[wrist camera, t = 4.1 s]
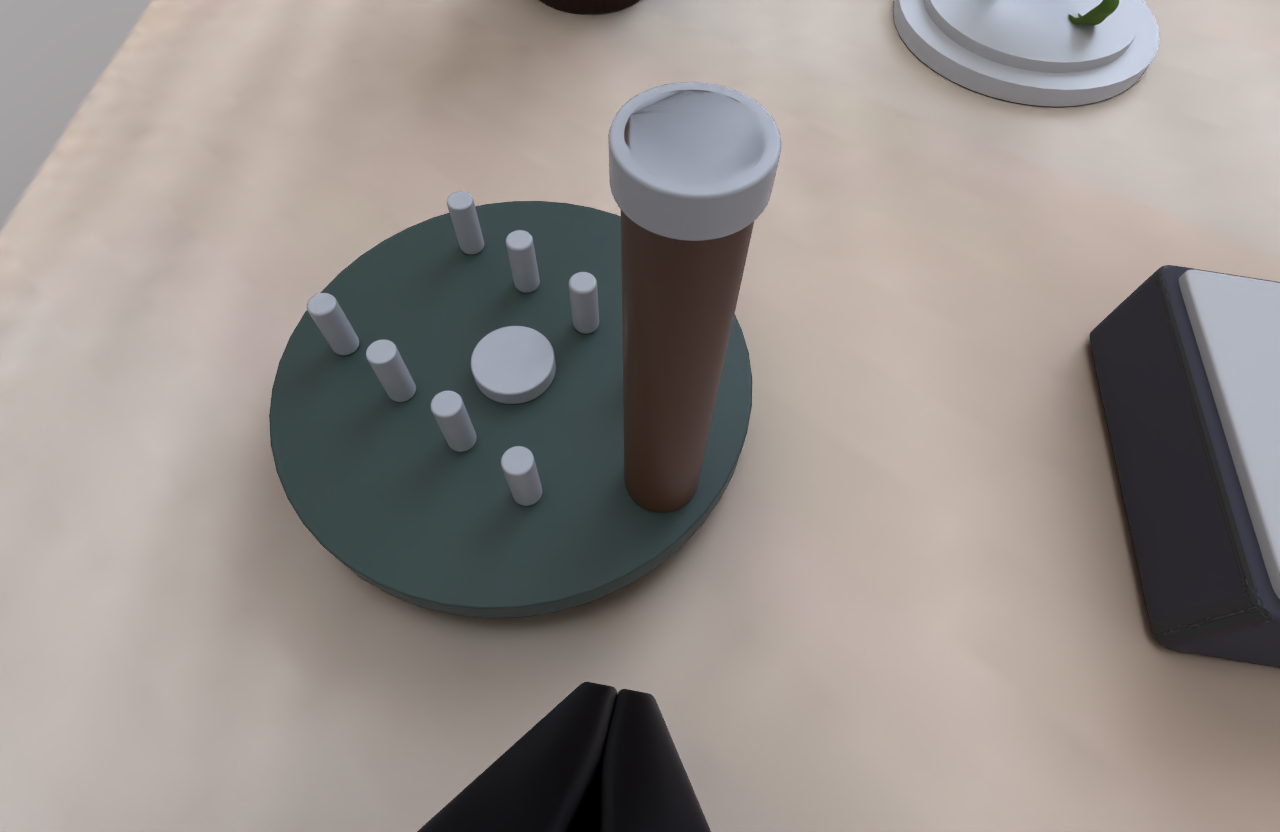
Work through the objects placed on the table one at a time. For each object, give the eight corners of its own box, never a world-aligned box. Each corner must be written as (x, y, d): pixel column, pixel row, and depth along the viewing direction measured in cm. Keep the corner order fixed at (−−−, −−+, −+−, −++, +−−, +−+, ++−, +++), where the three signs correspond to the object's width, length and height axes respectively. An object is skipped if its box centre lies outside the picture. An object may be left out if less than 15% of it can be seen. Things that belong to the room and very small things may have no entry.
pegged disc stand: (187, 413, 21) (-265, 10, 10) (516, 166, 26) (440, -262, 16) (526, 740, 16) (346, 624, 6) (834, 363, 22) (1021, -42, 11)
